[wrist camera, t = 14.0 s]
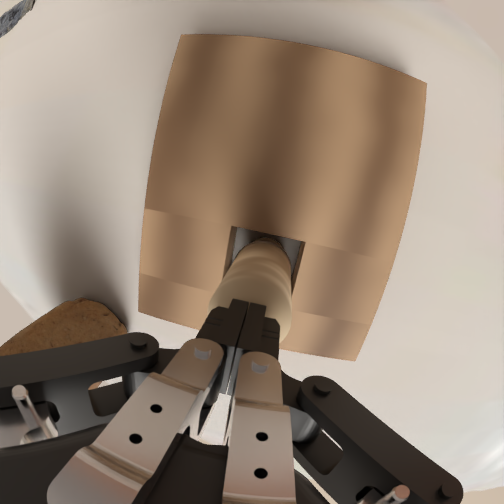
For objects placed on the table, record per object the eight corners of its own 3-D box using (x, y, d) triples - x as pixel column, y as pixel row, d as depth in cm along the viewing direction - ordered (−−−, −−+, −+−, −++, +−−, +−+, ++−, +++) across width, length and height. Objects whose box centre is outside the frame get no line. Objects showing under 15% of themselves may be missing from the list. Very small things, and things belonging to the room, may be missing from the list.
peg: (295, 237, 21) (302, 288, 12) (284, 284, 22) (281, 360, 13) (245, 227, 21) (212, 268, 12) (237, 274, 22) (202, 342, 13)
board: (411, 92, 17) (426, 83, 14) (348, 341, 23) (355, 361, 20) (193, 49, 18) (181, 34, 15) (153, 297, 24) (138, 311, 21)
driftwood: (45, -10, 16) (37, -14, 14) (28, 23, 18) (19, 20, 16) (-12, 30, 18) (-19, 28, 16) (-23, 58, 19) (-30, 57, 17)
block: (87, 279, 25) (-65, 384, 6) (141, 327, 25) (13, 479, 6) (65, 339, 28) (-36, 432, 9) (110, 378, 28) (22, 492, 9)
